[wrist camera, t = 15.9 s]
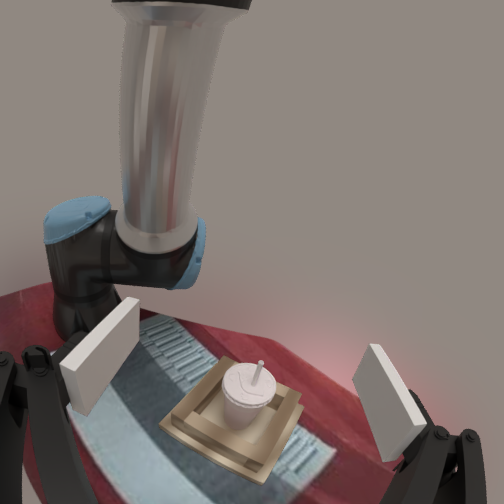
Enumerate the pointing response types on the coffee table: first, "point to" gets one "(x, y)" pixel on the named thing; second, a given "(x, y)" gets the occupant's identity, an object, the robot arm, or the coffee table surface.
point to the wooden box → (230, 440)
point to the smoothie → (246, 393)
